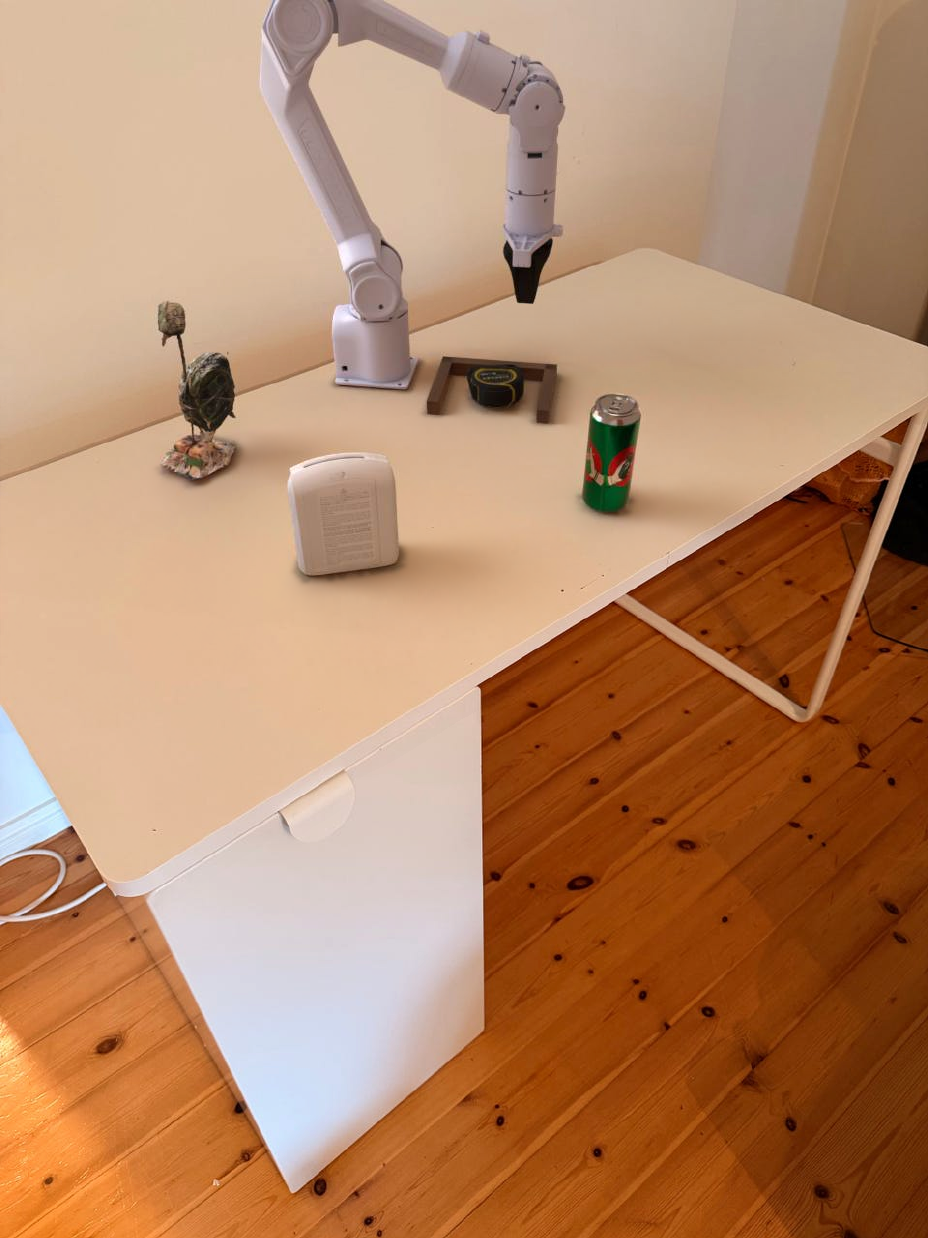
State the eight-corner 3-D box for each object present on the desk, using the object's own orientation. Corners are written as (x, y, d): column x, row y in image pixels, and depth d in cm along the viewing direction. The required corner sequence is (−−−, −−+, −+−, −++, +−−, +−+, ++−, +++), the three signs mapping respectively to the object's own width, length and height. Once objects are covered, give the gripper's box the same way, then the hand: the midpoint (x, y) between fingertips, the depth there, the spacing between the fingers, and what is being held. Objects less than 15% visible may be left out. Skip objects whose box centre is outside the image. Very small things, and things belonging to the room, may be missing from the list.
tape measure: (519, 385, 120) (520, 358, 117) (526, 413, 115) (527, 385, 112) (466, 387, 119) (466, 360, 117) (471, 415, 114) (471, 388, 112)
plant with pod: (267, 448, 109) (239, 281, 96) (188, 491, 103) (145, 319, 89) (224, 424, 113) (190, 261, 99) (145, 463, 107) (98, 295, 93)
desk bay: (426, 413, 115) (426, 400, 113) (442, 368, 123) (442, 355, 122) (548, 423, 113) (549, 410, 112) (556, 376, 121) (557, 364, 120)
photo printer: (396, 540, 97) (389, 437, 88) (403, 566, 93) (397, 462, 85) (296, 555, 95) (279, 451, 86) (301, 582, 92) (283, 477, 83)
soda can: (632, 492, 102) (646, 395, 94) (622, 519, 99) (636, 420, 91) (587, 484, 104) (597, 387, 95) (576, 510, 100) (586, 412, 92)
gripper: (560, 211, 101) (552, 329, 110) (570, 167, 112) (562, 278, 121) (495, 208, 102) (493, 325, 111) (511, 164, 112) (508, 275, 122)
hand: (525, 301), depth 116 cm, fingers closed
